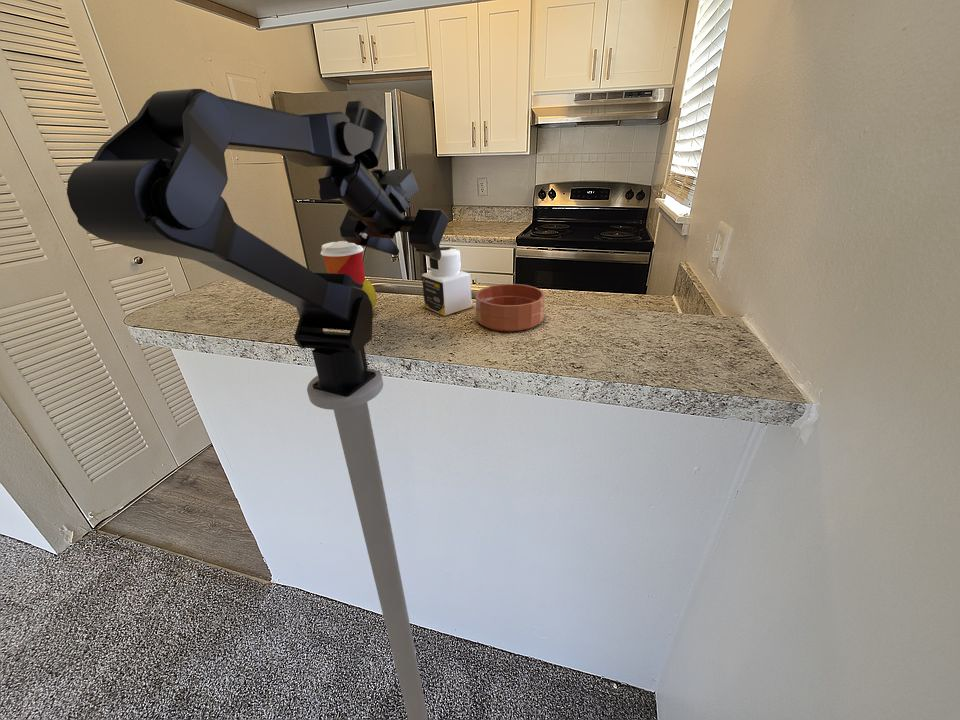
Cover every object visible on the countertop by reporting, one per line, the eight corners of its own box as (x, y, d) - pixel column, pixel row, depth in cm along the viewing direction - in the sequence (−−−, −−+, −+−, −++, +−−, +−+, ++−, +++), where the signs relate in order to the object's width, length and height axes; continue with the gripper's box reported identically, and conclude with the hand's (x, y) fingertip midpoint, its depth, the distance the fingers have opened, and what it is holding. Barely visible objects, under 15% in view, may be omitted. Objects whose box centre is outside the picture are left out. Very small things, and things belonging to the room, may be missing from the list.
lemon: (375, 320, 78) (368, 280, 75) (346, 320, 79) (339, 280, 75) (381, 310, 83) (376, 272, 80) (355, 310, 83) (348, 272, 80)
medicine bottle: (424, 307, 84) (418, 249, 78) (451, 299, 88) (447, 243, 82) (444, 316, 79) (440, 255, 73) (472, 307, 83) (470, 248, 77)
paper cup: (334, 311, 83) (319, 242, 76) (372, 306, 85) (361, 238, 78) (334, 325, 76) (317, 250, 70) (375, 319, 78) (363, 246, 72)
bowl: (531, 337, 69) (532, 309, 67) (465, 327, 74) (464, 301, 72) (550, 312, 79) (552, 287, 77) (492, 304, 84) (491, 281, 82)
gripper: (436, 147, 55) (478, 219, 69) (339, 151, 64) (394, 214, 77) (407, 216, 53) (456, 276, 66) (310, 210, 61) (371, 265, 75)
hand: (418, 255), depth 71 cm, fingers open, 9 cm apart
